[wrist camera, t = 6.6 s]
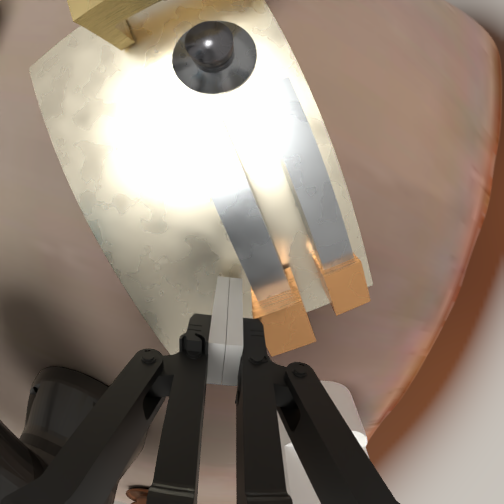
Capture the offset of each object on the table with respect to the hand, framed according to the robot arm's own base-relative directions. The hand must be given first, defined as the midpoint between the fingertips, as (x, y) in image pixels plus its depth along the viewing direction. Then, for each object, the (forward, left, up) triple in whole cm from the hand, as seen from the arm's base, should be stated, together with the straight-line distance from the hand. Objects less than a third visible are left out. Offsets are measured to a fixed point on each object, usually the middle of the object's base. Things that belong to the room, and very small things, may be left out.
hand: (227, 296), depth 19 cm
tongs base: (+8, +3, -2) cm, 9 cm away
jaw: (+5, -1, -1) cm, 5 cm away
